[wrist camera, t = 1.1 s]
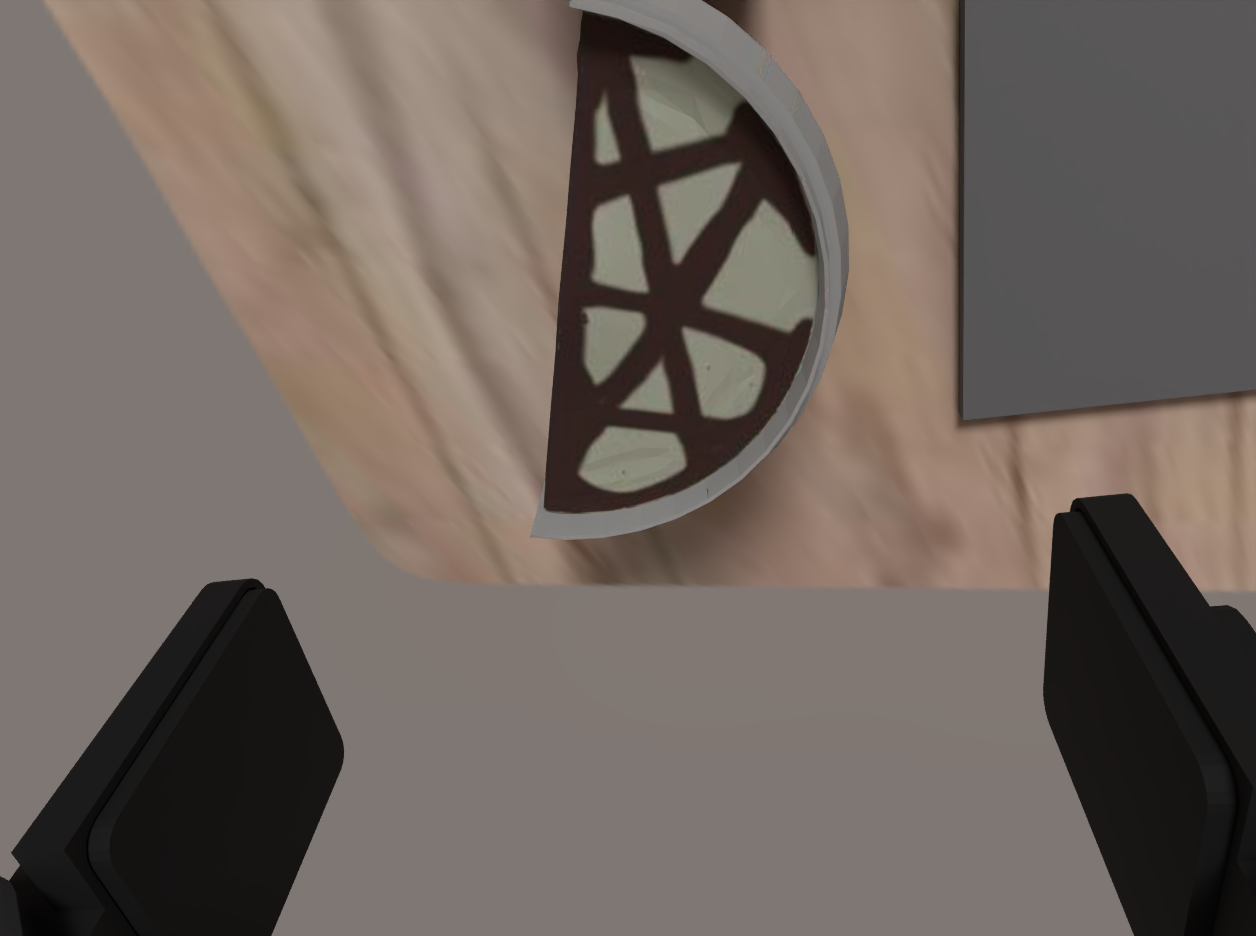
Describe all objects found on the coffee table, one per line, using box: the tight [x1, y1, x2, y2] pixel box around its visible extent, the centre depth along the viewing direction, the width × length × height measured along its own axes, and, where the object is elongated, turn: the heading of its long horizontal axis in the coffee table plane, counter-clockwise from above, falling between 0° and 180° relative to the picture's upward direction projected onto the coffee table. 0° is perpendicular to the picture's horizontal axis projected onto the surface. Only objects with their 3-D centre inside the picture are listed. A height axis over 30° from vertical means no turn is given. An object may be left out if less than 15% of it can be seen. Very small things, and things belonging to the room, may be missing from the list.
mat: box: [959, 0, 1256, 420], centre depth 25 cm, size 14×16×1 cm
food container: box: [531, 0, 849, 540], centre depth 24 cm, size 12×6×10 cm, turn 174°
